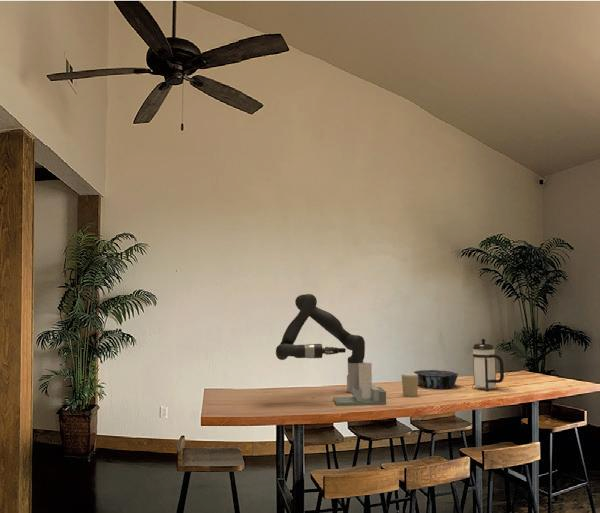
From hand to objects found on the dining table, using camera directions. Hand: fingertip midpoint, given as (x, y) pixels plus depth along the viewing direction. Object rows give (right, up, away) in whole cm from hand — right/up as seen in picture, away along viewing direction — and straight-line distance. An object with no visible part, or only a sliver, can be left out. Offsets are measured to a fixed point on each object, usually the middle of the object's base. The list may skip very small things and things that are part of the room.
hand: (345, 350), depth 279 cm
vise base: (+7, -27, -1) cm, 28 cm away
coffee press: (+87, -29, +31) cm, 97 cm away
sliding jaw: (+6, -26, -1) cm, 27 cm away
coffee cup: (+38, -29, +15) cm, 50 cm away
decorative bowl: (+60, -31, +44) cm, 80 cm away
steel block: (+11, -26, -1) cm, 28 cm away
